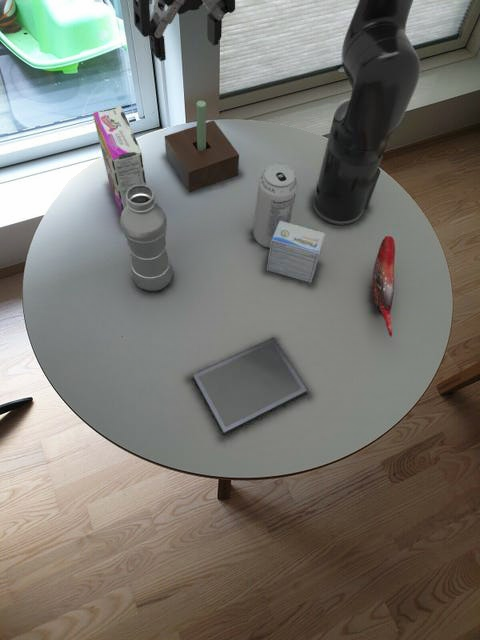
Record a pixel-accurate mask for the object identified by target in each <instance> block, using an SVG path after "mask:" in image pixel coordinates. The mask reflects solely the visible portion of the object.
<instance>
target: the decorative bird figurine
mask: <svg viewBox="0 0 480 640" xmlns="http://www.w3.org/2000/svg"><path fill="white" fill-rule="evenodd" d="M395 259H396V243H395V239H394V237H393V236H390V235H385V236H384V237H383V239H382V241H381V243H380V245H379V248H378V252H377V255H376V258H375V261H374V265H373V271H372V284H371V285H372V286H371V287H372V296H373V301H374V303H375V306H376V308H375V309H376V310H377V311H378V313H379V314H380V315H381V316H382V317H383V319H384V322H385V325H386V328H387V332H388V335H389V336H390V338H392V337H393V329H392V328H393V327H392V320H391V311H392V308H393V302H394V301H393V300H394V293H395Z"/></svg>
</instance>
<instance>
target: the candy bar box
mask: <svg viewBox="0 0 480 640" xmlns="http://www.w3.org/2000/svg"><path fill="white" fill-rule="evenodd" d="M92 116H93V120H94V124H95V129H96V133H97V138H98V142H99V145H100V150H101V155H102V158H103V159H102V160H103V164H104V166H105V172H106V175H107V180H108V185H109V188H110V190H111V192H112V195H113V198H114V200H115V203H116V206H117V208H118V210H119V213H120V215H121V214H122V211H123V210H124V208H125V207H126V206H127V204H126V200H127V199H126V193H127V191H128V189H129V188H131V187H133V186H135V185H145V186H147V181H146V174H145V168H144V162H143V155H142V154H143V153H142V150H141V148H140V144H139V143H138V140H137V138H136V136H135V133H134V131H133V129H132V127H131V125H130V123H129V120H128V118H127V116H126V114H125V111H124V110H123V107H122V106H117V107H113V108H107V109H104V110H97V111H94V112H92Z"/></svg>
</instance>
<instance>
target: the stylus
mask: <svg viewBox="0 0 480 640" xmlns="http://www.w3.org/2000/svg"><path fill="white" fill-rule="evenodd" d="M195 105H196V126H197V151H198V152H200V151H203V150H206V123H207V102H205V101H204V100H198V101H197V102H196V104H195Z"/></svg>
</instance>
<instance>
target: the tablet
mask: <svg viewBox="0 0 480 640" xmlns="http://www.w3.org/2000/svg"><path fill="white" fill-rule="evenodd" d="M192 380H193V381H194V384H195V385H196V387H197V390H198V391H199V393H200V395H201V396H202V398H203V400H204V402H205V404H206V406H207V408H208V409H209V411H210V413H211V415H212V417H213V419H214V421H215V423H216V424H217V427H218V428H219V430H220V432H221V434H222V436H226V435H228V434H230V433H232V432H233V431H235V430H238V429H239V428H242V427H244V426H246V425H247V424H250V423H252V422H253V421H255V420H257V419H259V418H262V417H264V416H265V415H267V414H269V413H271V412H273V411H275V410H277V409H279V408H282V407H283V406H285V405H287V404H289V403H291V402H293V401H295V400H297V399H299V398H301V397H302V396H305V395H307V394H308V391H309V390H308V389H307V387H306V385H305V384H304V382H303V381H302V379H301V378H300V376H299V374H298V373H297V372H296V370H295V369H294V366H292V363H291V362H290V361H289V359H288V357H287V356H286V354H285V353H284V351H283V350H282V348H281V347H280V345H279V343H278V342H277V340H276V339H275V338H274V337H272V338H270V339H267V340H265V341H263V342H261V343H259V344H257V345H255V346H252V347H250V348H248V349H246V350H244V351H241V352H240V353H237V354H235V355H232V356H231V357H229V358H227V359H224V360H222V361H220V362H218V363H216V364H214V365H212V366H209V367H207V368H205V369H203V370H200V371H199V372H196V373H194V374H192Z"/></svg>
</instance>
